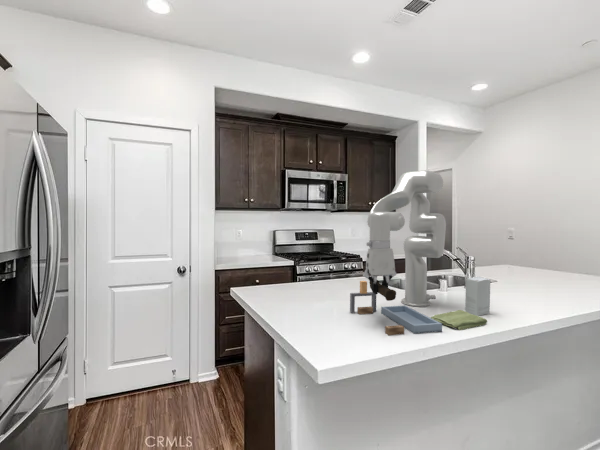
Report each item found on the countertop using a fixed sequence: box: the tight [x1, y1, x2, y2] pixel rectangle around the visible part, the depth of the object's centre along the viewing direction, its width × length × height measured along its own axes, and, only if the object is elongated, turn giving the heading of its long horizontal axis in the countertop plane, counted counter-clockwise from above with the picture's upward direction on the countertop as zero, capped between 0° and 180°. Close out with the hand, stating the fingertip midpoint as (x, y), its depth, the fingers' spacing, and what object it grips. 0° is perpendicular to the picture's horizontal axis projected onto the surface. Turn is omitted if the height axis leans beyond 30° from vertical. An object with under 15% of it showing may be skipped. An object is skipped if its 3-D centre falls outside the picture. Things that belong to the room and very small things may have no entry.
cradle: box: [357, 306, 405, 336], centre depth 121 cm, size 6×26×2 cm, turn 13°
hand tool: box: [369, 279, 397, 302], centre depth 121 cm, size 19×4×5 cm, turn 7°
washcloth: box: [430, 309, 488, 331], centre depth 122 cm, size 13×18×3 cm
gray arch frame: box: [349, 280, 377, 314], centre depth 135 cm, size 11×2×13 cm, turn 103°
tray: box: [380, 304, 443, 335], centre depth 122 cm, size 11×24×3 cm, turn 13°
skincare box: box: [464, 276, 491, 317], centre depth 134 cm, size 8×6×15 cm
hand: (379, 292), depth 121 cm, fingers closed on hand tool, 3 cm apart
